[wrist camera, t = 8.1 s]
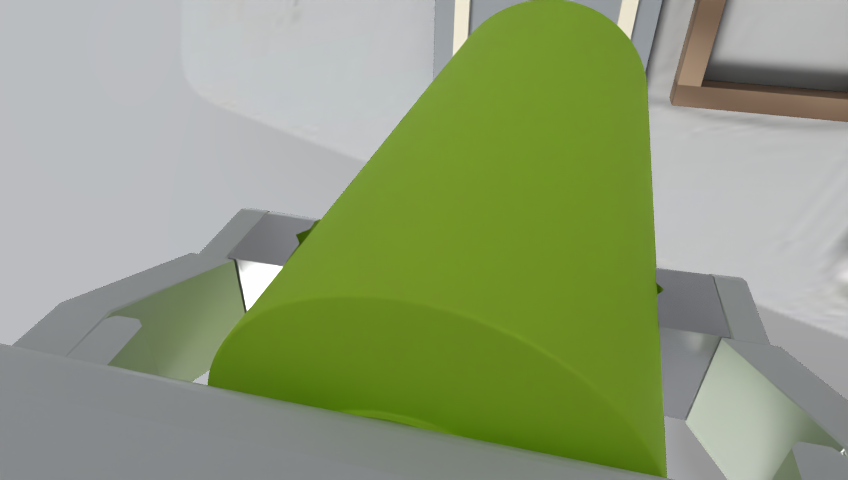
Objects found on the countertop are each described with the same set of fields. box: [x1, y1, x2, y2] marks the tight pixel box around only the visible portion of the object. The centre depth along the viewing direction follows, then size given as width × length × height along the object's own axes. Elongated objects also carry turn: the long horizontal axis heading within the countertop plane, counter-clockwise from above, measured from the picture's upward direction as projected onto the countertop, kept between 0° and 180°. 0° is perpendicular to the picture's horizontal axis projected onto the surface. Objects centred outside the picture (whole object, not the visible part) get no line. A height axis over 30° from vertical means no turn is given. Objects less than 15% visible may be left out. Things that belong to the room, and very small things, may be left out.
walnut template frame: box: [670, 0, 848, 122], centre depth 29 cm, size 11×10×1 cm
